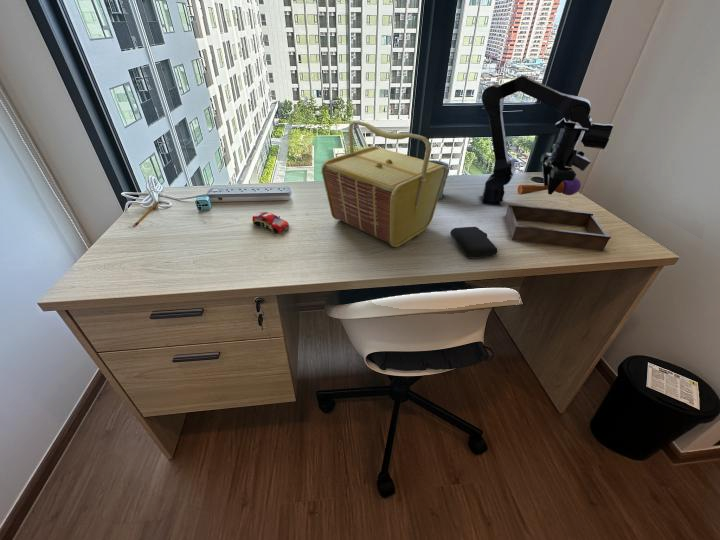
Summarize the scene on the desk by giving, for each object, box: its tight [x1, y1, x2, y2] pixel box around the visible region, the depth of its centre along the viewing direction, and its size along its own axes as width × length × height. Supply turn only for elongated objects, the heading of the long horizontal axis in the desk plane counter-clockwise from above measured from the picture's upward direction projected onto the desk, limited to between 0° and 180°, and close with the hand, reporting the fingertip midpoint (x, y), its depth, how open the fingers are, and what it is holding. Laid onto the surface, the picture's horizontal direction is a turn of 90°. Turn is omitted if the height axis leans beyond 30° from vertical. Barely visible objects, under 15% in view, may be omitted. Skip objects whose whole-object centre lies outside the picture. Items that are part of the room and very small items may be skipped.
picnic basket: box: [321, 120, 447, 248], centre depth 99 cm, size 29×26×30 cm
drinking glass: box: [429, 159, 451, 200], centre depth 124 cm, size 10×10×12 cm
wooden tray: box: [504, 203, 612, 252], centre depth 104 cm, size 26×16×5 cm, turn 78°
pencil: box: [132, 200, 160, 228], centre depth 112 cm, size 19×1×1 cm, turn 4°
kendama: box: [517, 177, 582, 196], centre depth 112 cm, size 6×6×20 cm
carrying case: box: [450, 226, 498, 259], centre depth 97 cm, size 11×3×15 cm
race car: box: [252, 211, 290, 235], centre depth 104 cm, size 13×5×4 cm, turn 57°
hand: (547, 190), depth 112 cm, fingers closed on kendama, 5 cm apart
